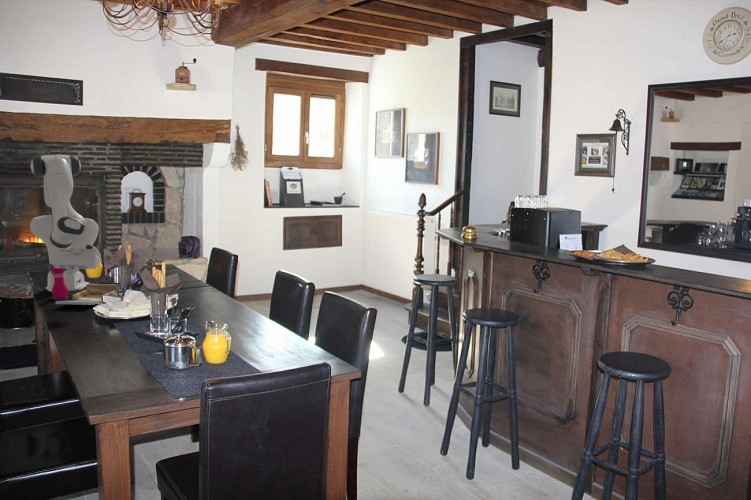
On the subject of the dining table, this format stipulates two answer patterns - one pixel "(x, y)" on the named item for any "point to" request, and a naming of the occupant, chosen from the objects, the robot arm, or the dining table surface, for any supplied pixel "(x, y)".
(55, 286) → the pepper mill
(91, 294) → the tray
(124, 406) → the dining table surface
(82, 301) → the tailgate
